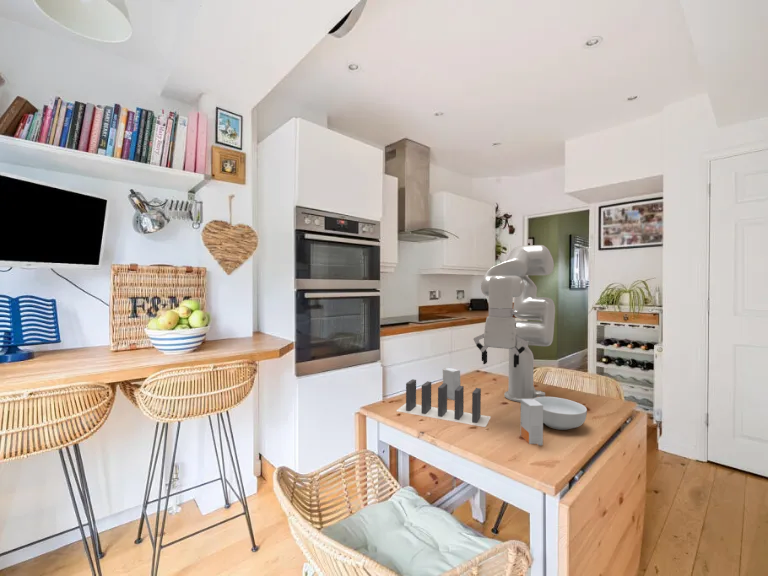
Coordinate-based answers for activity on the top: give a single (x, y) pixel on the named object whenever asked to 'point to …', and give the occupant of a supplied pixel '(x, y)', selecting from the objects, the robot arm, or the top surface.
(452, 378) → the skincare box
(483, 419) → the board
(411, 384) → the domino
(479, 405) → the domino
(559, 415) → the cereal bowl
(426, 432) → the top surface
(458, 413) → the domino
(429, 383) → the domino
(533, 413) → the skincare box
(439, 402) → the domino
